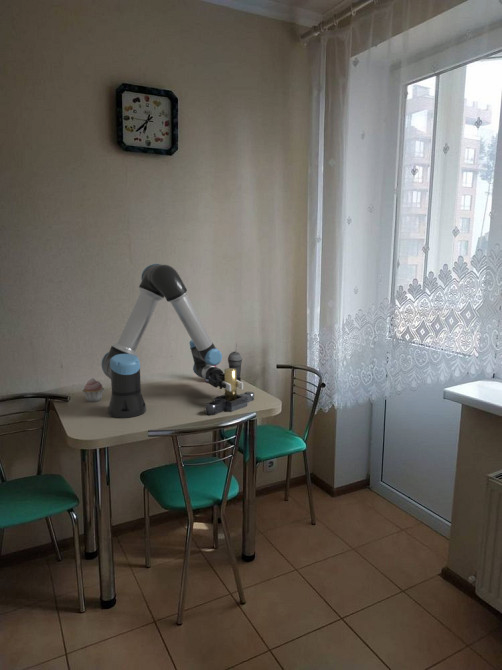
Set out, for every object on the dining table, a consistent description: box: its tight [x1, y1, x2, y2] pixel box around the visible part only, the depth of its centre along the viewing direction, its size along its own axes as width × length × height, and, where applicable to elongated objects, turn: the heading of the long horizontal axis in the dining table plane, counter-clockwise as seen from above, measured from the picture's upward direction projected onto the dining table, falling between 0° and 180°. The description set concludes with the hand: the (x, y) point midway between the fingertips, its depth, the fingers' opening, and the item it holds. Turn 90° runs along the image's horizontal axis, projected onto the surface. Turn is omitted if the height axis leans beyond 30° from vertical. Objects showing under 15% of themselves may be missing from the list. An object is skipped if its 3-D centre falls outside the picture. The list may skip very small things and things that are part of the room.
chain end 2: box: [226, 391, 255, 412], centre depth 212 cm, size 19×10×3 cm, turn 139°
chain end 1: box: [205, 393, 248, 416], centre depth 205 cm, size 19×10×4 cm, turn 139°
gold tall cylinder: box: [224, 367, 238, 401], centre depth 207 cm, size 5×5×14 cm
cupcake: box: [82, 377, 105, 403], centre depth 217 cm, size 9×9×10 cm
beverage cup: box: [227, 342, 243, 378], centre depth 244 cm, size 7×7×20 cm
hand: (236, 387), depth 203 cm, fingers closed on gold tall cylinder, 5 cm apart
